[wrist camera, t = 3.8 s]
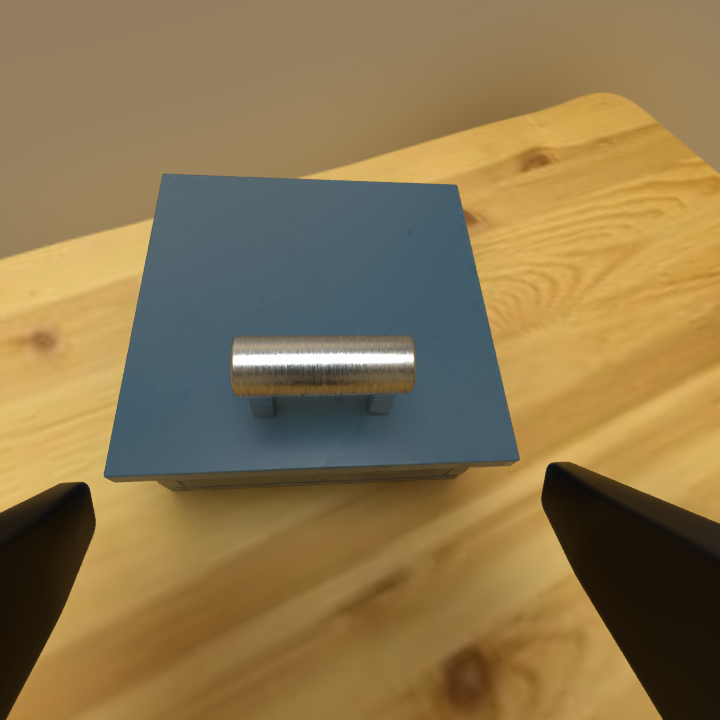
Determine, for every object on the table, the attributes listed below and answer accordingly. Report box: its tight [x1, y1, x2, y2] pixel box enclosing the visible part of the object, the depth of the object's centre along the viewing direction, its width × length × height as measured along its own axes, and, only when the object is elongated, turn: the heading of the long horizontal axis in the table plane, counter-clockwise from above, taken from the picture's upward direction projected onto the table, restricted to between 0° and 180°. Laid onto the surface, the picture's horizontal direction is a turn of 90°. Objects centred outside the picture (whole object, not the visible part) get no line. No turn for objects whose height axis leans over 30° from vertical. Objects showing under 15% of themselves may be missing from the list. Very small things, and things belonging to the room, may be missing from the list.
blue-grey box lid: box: [104, 174, 520, 482], centre depth 15 cm, size 12×13×5 cm
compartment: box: [157, 468, 469, 491], centre depth 20 cm, size 12×13×6 cm
